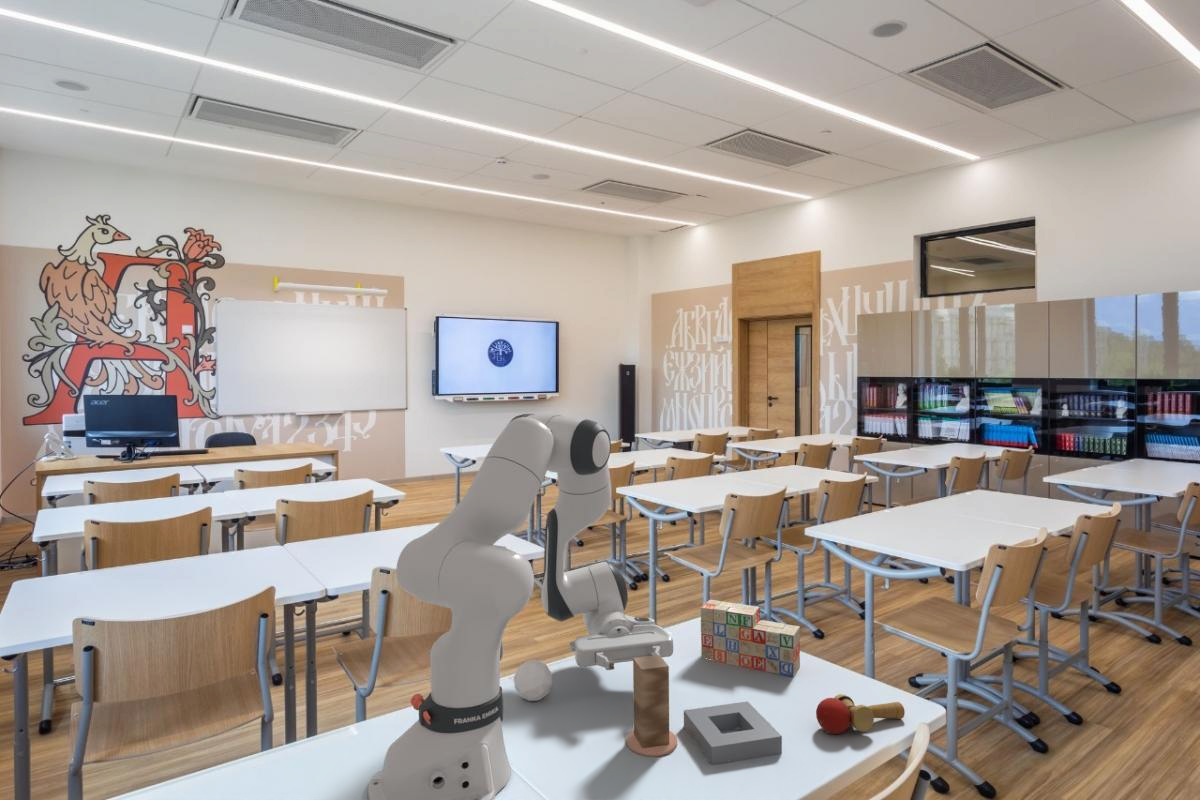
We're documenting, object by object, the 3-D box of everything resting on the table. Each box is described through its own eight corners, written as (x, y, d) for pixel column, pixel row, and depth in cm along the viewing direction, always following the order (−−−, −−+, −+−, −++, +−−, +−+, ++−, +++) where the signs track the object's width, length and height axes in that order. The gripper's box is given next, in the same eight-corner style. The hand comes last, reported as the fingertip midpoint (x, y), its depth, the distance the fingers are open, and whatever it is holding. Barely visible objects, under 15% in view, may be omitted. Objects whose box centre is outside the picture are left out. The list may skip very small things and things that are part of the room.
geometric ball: (532, 716, 137) (518, 695, 132) (516, 688, 143) (502, 667, 138) (564, 692, 139) (551, 671, 134) (546, 666, 145) (533, 644, 141)
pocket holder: (711, 764, 114) (711, 747, 114) (683, 726, 127) (683, 710, 127) (781, 753, 118) (781, 736, 118) (747, 716, 130) (747, 701, 130)
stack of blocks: (800, 667, 152) (800, 612, 152) (793, 678, 147) (793, 621, 146) (709, 649, 163) (709, 598, 162) (700, 658, 157) (700, 606, 157)
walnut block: (642, 748, 118) (641, 669, 118) (633, 734, 123) (633, 657, 123) (669, 744, 120) (668, 666, 119) (660, 730, 125) (659, 654, 124)
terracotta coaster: (643, 762, 115) (643, 758, 115) (617, 737, 123) (617, 734, 123) (687, 747, 120) (687, 744, 120) (659, 724, 128) (659, 721, 128)
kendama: (880, 713, 134) (803, 716, 128) (888, 684, 133) (811, 686, 127) (908, 739, 127) (828, 744, 121) (917, 709, 126) (837, 712, 120)
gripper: (567, 627, 142) (581, 653, 129) (659, 617, 147) (682, 641, 134) (567, 656, 143) (581, 686, 129) (660, 645, 148) (683, 673, 134)
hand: (634, 663), depth 132 cm, fingers open, 8 cm apart
